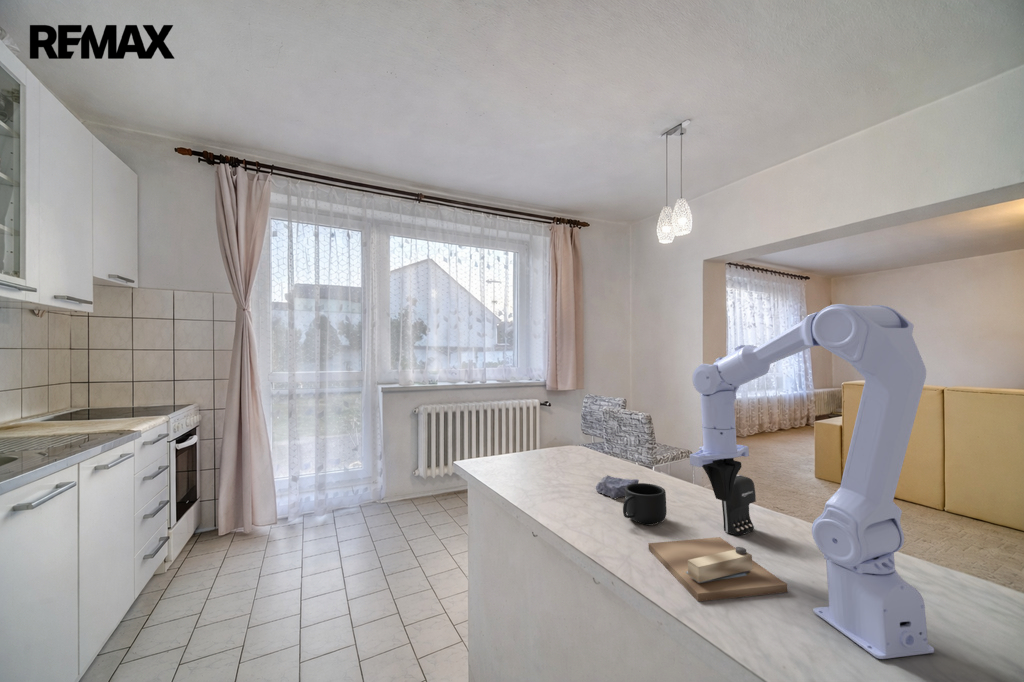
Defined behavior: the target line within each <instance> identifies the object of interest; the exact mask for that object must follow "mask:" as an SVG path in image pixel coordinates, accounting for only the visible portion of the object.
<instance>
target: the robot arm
mask: <svg viewBox="0 0 1024 682" xmlns="http://www.w3.org/2000/svg"><path fill="white" fill-rule="evenodd" d="M914 327H915V326H914V323H912V322H911V321H910V320H908V319H907V318H906V317H905V316H904V315H903V314H902V313H900V312H899V311H898V310H896V309H895V308H893V307H891V306H888V305H882V304H875V305H873V304H872V305H849V304H847V303H845V304H844V303H836V304H831V305H828V306H826V307H824V308H823V309H821V310H820V311H816V312H814V313H811V314H808V315H806V317H804V319H802V320H801V321H800V322H798V323H796V324H795V325H793V326H791V327H789V328H788V329H786V330H784V331H782V332H781V333H779V334H778V335H776V336H774V337H773V338H770V339H769V340H767V341H766V342H764V343H762V344H761V345H759V346H756V345H751V344H739V345H737V346H735V347H734V351H733V352H731V353H729V354H727V355H726V356H719V357H718V358H716V359H715V361H714V362H713V364H710V363H700V364H699V365H698V366H697V367H696V368H695V369H694V371H693V373H692V384H693V387H694V389H695V390H696V391H697V392H698V393H699V394H700V395H699V396H700V413H701V428H702V431H701V433H702V446H699V447H698V451H696V452H693V453H690V454H689V465H690V466H694V467H698V468H701V467H702V468H703V470H704V471H705V474H706V475H707V477H708V480H709V482H710V484H711V487H712V490H713V493H714V496H715V498H716V500H719V501H721V502H722V501H729V500H730V497H731V493H732V488H733V484H734V481H735V478H736V476H737V475H739V474H738V473H739V472H740V470H741V468H742V462H741V461H738V460H734V459H735V458H739V457H740V458H741V457H744V458H745V457H746V458H747V457H749V456H750V451H749V446H748V445H742V444H737V428H736V427H737V426H736V412H735V401H736V400H737V392H738V390H739V388H740V387H741V386H743V385H744V384H747V383H749V382H752V381H753V380H756V379H759V378H760V377H764V376H765V375H767V374H768V373H769V371H770V367H771V364H773V363H776V362H778V361H781V360H783V359H786V358H788V357H790V356H793V355H797V354H798V353H800V352H802V351H806V350H808V349H810V348H813V347H820V346H821V347H822V348H824V349H825V350H827V351H829V352H830V353H831V354H833V355H835V356H837V357H838V358H840V359H842V360H843V361H845V362H848V364H851V366H852V367H853V368H855V370H856V371H857V372H858V373H859V374H860V375H861V376H862V378H864V383H863V388H862V391H861V392H862V393H861V396H860V401H859V404H858V410H857V414H856V418H855V422H854V427H853V430H852V436H851V439H850V444H849V448H848V452H847V457H846V461H845V465H844V469H843V474H842V477H841V482H840V487H839V488H837V491H836V492H835V493H833V494H832V496H831V497H830V498H829V499H828V500H827V501H826V502H825V504H824V508H823V512H822V513H821V514H820V515H819V516H818V517H816V518H815V520H814V521H813V523H812V524H811V525H812V526H811V534H812V539H813V541H814V543H815V544H816V546H817V549H818V550H820V552H821V553H822V555H823V558H824V559H825V561H826V562H825V563H826V564H825V565H826V578H827V593H828V606H823V607H821V606H819V607H814V608H813V613H815V614H816V615H817V616H818V617H820V618H821V619H822V620H823V621H825V622H827V623H828V624H829V625H830V626H832V627H833V628H835V629H836V630H838V631H839V632H840V633H841V634H843V635H844V636H845V637H847V638H849V640H851V641H853V642H854V643H856V645H857V646H858V645H859V646H860V647H861V649H863V650H865V651H866V652H868V653H869V654H870V655H872V656H873V657H874V658H877V659H878V660H879V659H880V660H886V659H892V658H893V659H894V658H900V657H909V656H917V655H925V654H933V653H935V647H933V646H932V645H930V644H929V642H928V630H927V616H926V606H925V600H924V598H923V595H922V594H921V592H920V591H919V589H917V588H915V586H913V585H911V584H910V583H908V581H906V580H905V579H903V577H902V576H901V575H900V574H899V573H898V571H897V570H896V564H895V553H897V552H899V551H901V549H902V548H903V546H904V543H905V534H904V531H903V528H902V525H901V518H902V514H903V510H902V509H901V508H900V507H899V506H898V505H897V504H896V503H895V502H894V499H895V496H896V491H897V488H898V483H899V481H900V480H899V479H900V475H901V472H902V469H903V464H904V460H905V457H906V454H907V450H908V447H909V442H910V438H911V435H912V431H913V428H914V423H915V420H916V416H917V412H918V408H919V404H920V400H921V397H922V393H923V389H924V385H925V383H926V382H925V381H926V378H927V367H926V365H925V362H924V361H923V358H922V356H921V353H920V351H919V349H918V346H917V343H916V341H915V339H914V336H913V332H914Z"/></svg>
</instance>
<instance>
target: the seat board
mask: <svg viewBox="0 0 1024 682" xmlns="http://www.w3.org/2000/svg"><path fill="white" fill-rule="evenodd" d="M735 548H736V546H733V545H732V544H731V543H729V542H728V541H726V540H724V538H722V537H721V536H719V537H718V536H717V537H707V538H696V539H694V538H693V539H685V540H684V539H682V540H671V541H659V542H649V543H648V550H649V552H651V553H652V555H653V556H654V557H656V559H657V560H658V561H659V562H660V563H661V564H662V565H663V566H664V568H666V570H667V571H669V573H671V575H672V576H674V578H675V579H676V580H677V581H678V582H679V583H680V584H681V585H682V586H683V587H684V588H685V589H686V591H688V592H689V594H690V595H691V596H693V598H695V600H696V601H697V602H706V601H716V600H717V601H718V600H725V599H733V598H734V599H735V598H745V597H753V596H754V597H755V596H764V595H775V594H782V593H783V594H785V593H788V591H789V590H788V584H787V583H786V582H784V581H783V580H782V579H780V578H779V577H777V576H776V575H775V574H773V573H772V572H770V571H769V570H767V569H766V568H765V567H763V566H761V564H760V563H757V561H755V560H754V559H752V566H753V570H749V571H745V572H740V573H736V574H732V575H728V576H724V577H720V578H716V579H712V580H707V581H703V582H698V581H696V580H695V579H694V578H692V577H691V576H689V575H688V560H690V559H694V558H699V557H703V556H708V555H712V554H717V553H722V552H726V551H731V550H735Z"/></svg>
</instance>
